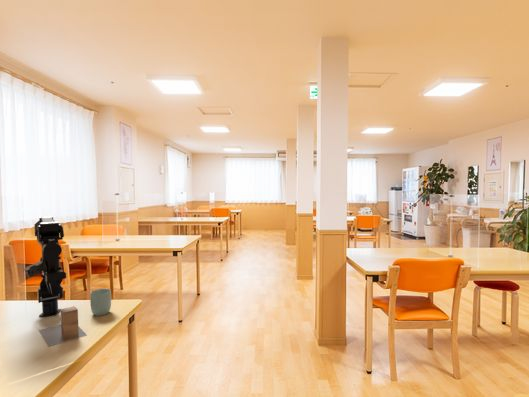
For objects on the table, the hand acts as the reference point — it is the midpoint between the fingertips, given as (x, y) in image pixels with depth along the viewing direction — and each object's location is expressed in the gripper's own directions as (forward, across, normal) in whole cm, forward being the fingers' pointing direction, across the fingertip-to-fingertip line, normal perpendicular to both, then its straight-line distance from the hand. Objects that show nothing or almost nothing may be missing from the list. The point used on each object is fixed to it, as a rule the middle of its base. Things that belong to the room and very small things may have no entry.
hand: (52, 293), depth 130 cm
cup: (+13, 0, +18) cm, 22 cm away
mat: (+13, +10, +1) cm, 16 cm away
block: (+13, +15, +2) cm, 20 cm away
